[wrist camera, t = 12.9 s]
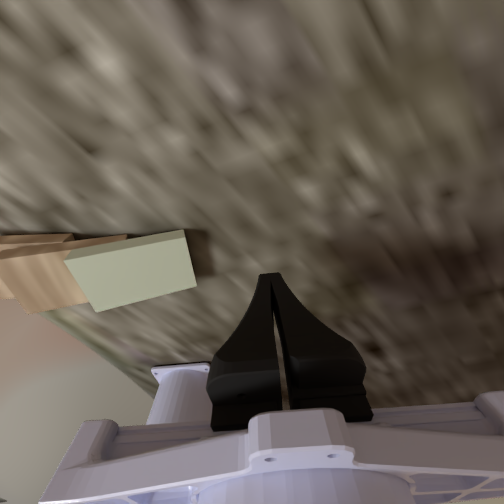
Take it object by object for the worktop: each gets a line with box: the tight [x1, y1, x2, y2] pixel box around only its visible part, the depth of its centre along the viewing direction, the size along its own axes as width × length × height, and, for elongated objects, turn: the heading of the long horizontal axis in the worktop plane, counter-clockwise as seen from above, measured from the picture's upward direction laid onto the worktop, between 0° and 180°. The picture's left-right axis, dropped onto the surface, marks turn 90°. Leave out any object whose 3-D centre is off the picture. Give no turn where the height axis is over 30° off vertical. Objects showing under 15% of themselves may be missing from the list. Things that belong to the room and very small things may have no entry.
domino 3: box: [64, 229, 197, 312], centre depth 17 cm, size 2×5×8 cm
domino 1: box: [0, 233, 75, 299], centre depth 17 cm, size 2×5×8 cm
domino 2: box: [0, 234, 128, 314], centre depth 17 cm, size 2×5×8 cm
